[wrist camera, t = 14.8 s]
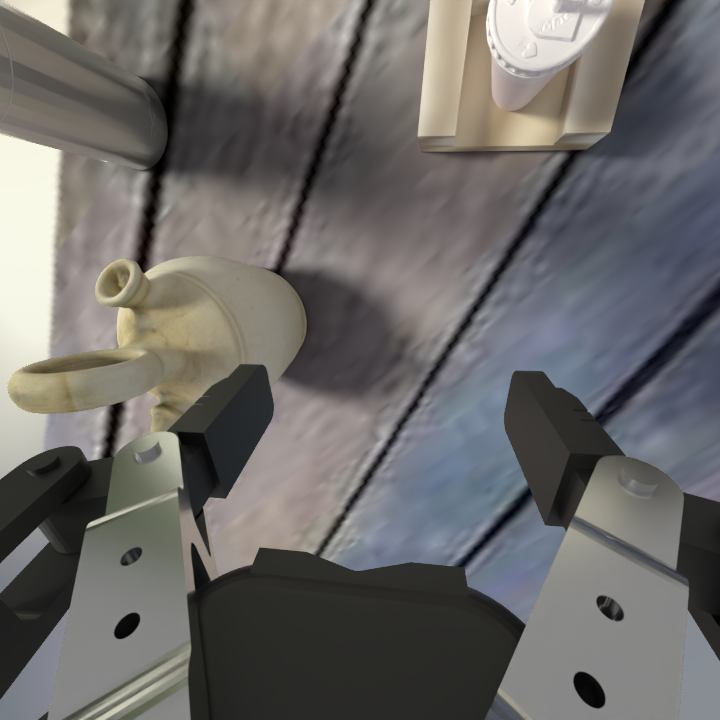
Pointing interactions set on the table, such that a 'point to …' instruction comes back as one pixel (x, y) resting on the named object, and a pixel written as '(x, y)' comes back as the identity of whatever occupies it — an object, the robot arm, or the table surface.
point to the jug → (172, 338)
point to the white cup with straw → (537, 43)
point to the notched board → (544, 112)
